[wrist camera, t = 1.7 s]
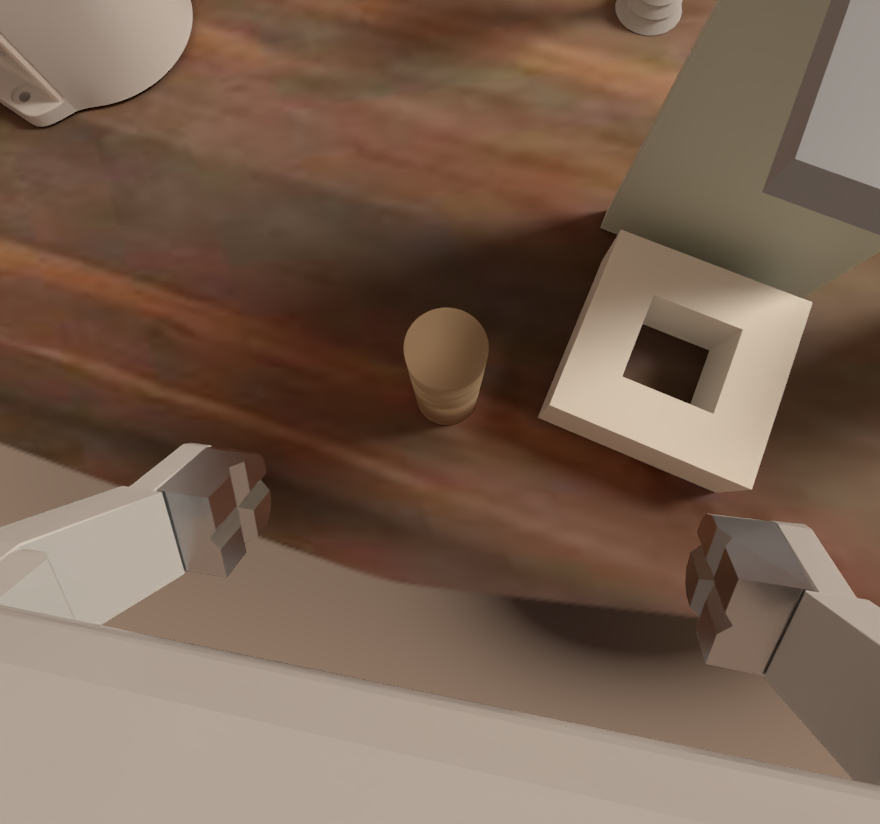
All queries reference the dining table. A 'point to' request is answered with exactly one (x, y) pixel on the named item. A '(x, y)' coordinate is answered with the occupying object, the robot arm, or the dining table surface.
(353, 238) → the dining table surface
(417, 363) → the peg
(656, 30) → the chalice
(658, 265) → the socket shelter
